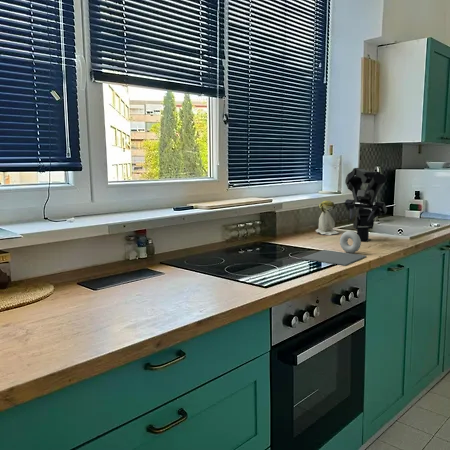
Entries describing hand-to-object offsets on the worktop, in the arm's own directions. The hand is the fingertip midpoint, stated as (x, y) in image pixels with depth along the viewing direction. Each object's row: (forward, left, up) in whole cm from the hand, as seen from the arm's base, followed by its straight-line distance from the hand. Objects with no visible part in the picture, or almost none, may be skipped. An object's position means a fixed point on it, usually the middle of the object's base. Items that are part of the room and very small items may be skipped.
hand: (359, 220), depth 204 cm
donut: (+9, 0, -13) cm, 16 cm away
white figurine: (-30, -32, -14) cm, 45 cm away
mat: (+22, -1, -13) cm, 26 cm away
